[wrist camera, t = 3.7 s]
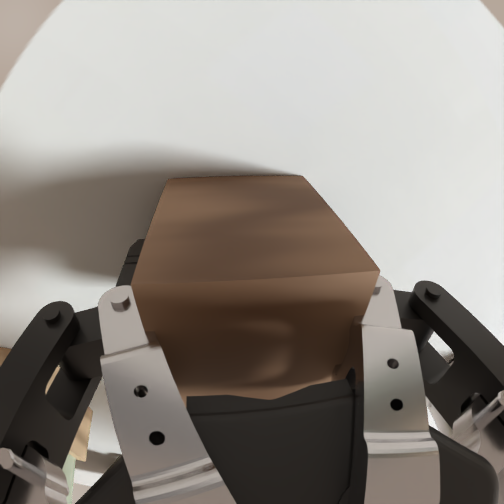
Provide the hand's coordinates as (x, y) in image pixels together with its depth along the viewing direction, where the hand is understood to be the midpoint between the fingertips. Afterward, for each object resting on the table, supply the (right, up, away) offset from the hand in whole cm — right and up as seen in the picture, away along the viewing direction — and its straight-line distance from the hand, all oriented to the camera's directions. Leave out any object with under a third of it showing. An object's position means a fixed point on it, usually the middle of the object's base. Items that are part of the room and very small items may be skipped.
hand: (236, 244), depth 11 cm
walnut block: (0, 0, +1) cm, 1 cm away
